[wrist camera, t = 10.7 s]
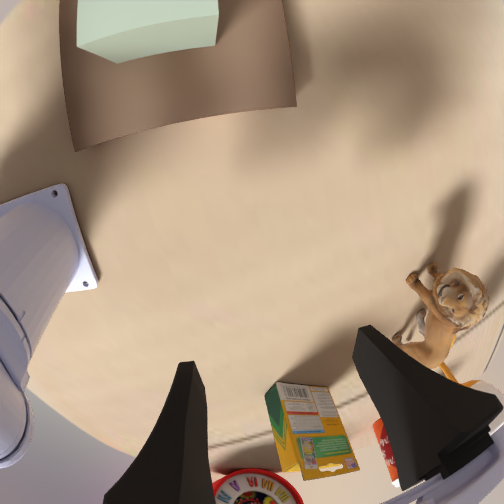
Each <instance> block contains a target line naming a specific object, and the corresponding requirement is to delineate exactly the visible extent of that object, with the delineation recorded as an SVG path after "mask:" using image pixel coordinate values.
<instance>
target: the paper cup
mask: <svg viewBox="0 0 504 504" xmlns="http://www.w3.org/2000/svg"><path fill="white" fill-rule="evenodd" d="M373 428H374V432H375V434H376V437H377V440H378V443H379V445H380V448H381V451H382V453H383V456H384V459H385V462H386V465H387V467H388V470H389V473H390V476H391V479H392V481H393V482H392V483H391V484H394V486H395V487H400V484H399V478H398V473H397V468H396V463H395V459H394V456H393V452H392V448H391V445H390V442H389V439H388V436H387V433H386V430H385V427H384V424H383V422H382V419H381V418H380V419H379V420H377V421H376V422H375V423H374V424H373Z"/></svg>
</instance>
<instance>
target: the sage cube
mask: <svg viewBox="0 0 504 504" xmlns="http://www.w3.org/2000/svg"><path fill="white" fill-rule="evenodd" d="M218 18H219V10H218V0H78V8H77V47H79V48H81V49H84V50H86V51H89V52H91V53H94V54H96V55H98V56H101V57H103V58H105V59H108V60H110V61H112V62H114V63H117V64H118V63H122V62H125V61H129V60H133V59H137V58H142V57H146V56H151V55H156V54H161V53H166V52H172V51H178V50H184V49H191V48H199V47H208V46H215V42H216V34H217V26H218Z"/></svg>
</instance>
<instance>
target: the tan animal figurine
mask: <svg viewBox="0 0 504 504" xmlns="http://www.w3.org/2000/svg"><path fill="white" fill-rule="evenodd" d="M436 270H437V265H436V263H434V262H432V263H430V264H429V265H428V268H427V272H428V274H429V276H430V277H431V278H432V280H433V281H435V282H434V284H433V289H432V291H430V290H428V289H427V288H425V287H424V285H423V284H422V283H421V281H420V280H419V279H418V277H417V275H416V274H411V275H410V276H409V277H408V278H407V279H406V282H407V284H408V285H409V286H410V287H411V288H412V289H413V290H415V291H416V292H417V293H418V295H419V296H420V297H421V299H422V301H423V302H424V303H425V304H426V306H427V307H428V309H429V313H428V315H427V318H426V323H425V322H424V317H425V315H426V310H425V309H423V310H420V311H419V313H418V315H417V320H418V325H419V332H420V333H421V334H422V335H423V336H424V338H425V340H424V341H423V342H410V343H407V344H402V342H401V339H402V336H401V335H400V334H397V335H395V336H394V337H393V338H392V342H393V343H394V344H395V345H396V346H398V347H399V348H400V349H402V350H403V351H404V352H406V353H407V354H408V355H410V356H411V357H412V358H414V359H415V360H417V361H418V362H420V363H421V364H423V365H424V366H426V367H427V368H429V369H434V368H436V367H438V366H439V365H440V364H441V363H442V362H443V361H444V360H445V358H446V357H447V356H448V353H449V350H450V346H451V342H452V340H453V337H454V335H455V333H457V332H458V331H461V330H465V329H468V328H469V327H470V326H471V325H475V324H477V323H478V322H479V321H480V320H481V319H482V317H483V316H484V315H485V312H486V310H487V306H488V300H489V297H488V296H487V294H486V292H487V287H486V285H484V284H482V282H481V281H480V279H479V278H478V277H477V276H476V275H473V274H471V273H469V272H467V271H465V270H463V269H458V268H453V269H451V270H450V271H448V272H447V273H444V274H440V273H438V272H437V271H436Z"/></svg>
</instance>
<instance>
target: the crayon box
mask: <svg viewBox="0 0 504 504" xmlns="http://www.w3.org/2000/svg"><path fill="white" fill-rule="evenodd" d="M264 397H265V401H266V405H267V409H268V414H269V418H270V422H271V426H272V431H273V435H274V439H275V443H276V447H277V451H278V456H279V460H280V464H281V468H282V472H294V471H301V473H302V477H303V480H304V481H306V480H312V479H319V478H324V477H330V476H336V475H341V474H345V473H350V472H354V471H358V470H360V468H359V466H358V463H357V460H356V458H355V456H354V453H353V450H352V448H351V445H350V442H349V440H348V437H347V435H346V432H345V429H344V427H343V424H342V422H341V419H340V417H339V414H338V411H337V409H336V406H335V404H334V401H333V399H332V396H331V393H330V391H329V389H328V387H316V386H306V385H297V384H287V383H281V382H276V383H275V384H274V385H273V387H272V388H271V389H270V390H269V391H268V392H267V393H266V394H265V396H264ZM341 464H343V468H342V469H338V470H336V471H335V472H331V471H324V472H321V471H320V470H319V468H326V467H333V466H339V465H341Z"/></svg>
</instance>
